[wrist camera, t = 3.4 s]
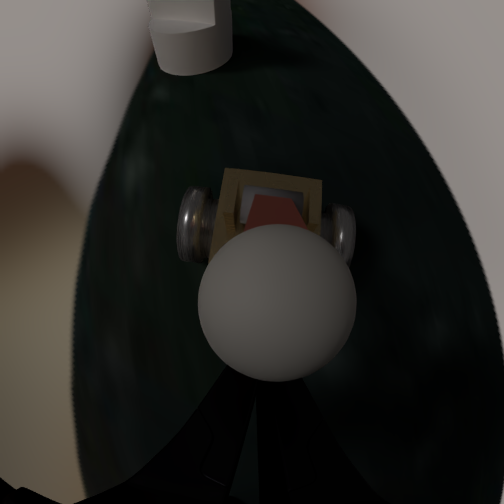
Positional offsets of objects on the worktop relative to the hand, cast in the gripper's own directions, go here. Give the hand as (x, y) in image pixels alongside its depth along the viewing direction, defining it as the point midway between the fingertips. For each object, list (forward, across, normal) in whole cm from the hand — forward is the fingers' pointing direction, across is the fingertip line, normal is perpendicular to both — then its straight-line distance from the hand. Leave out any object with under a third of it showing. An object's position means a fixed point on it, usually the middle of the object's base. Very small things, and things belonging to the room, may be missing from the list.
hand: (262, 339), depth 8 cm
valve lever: (+8, 0, -1) cm, 8 cm away
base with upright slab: (+29, +10, -12) cm, 33 cm away
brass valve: (+12, 0, +3) cm, 13 cm away
